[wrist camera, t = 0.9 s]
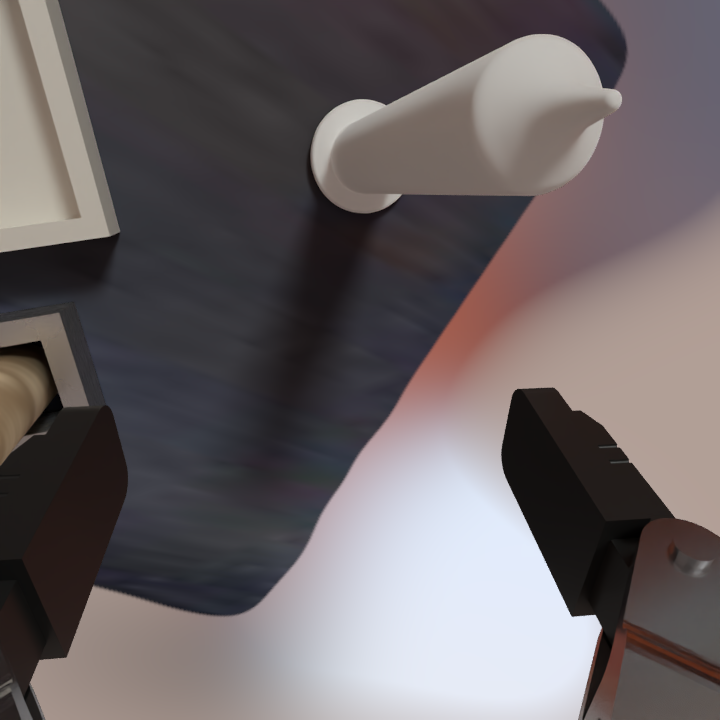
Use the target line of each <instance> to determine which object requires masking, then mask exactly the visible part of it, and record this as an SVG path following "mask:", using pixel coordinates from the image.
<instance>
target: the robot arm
mask: <svg viewBox="0 0 720 720" xmlns="http://www.w3.org/2000/svg"><path fill="white" fill-rule="evenodd" d="M501 453H502V454H501V456H502V466H503V470H504V474H505V477H506V479H507V481H508V483H509V486H510V488H511V490H512V492H513V494H514V496H515V498H516V500H517V502H518V504H519V506H520V509H521V511H522V512H523V515H524V517H525V519H526V521H527V523H528V525H529V528H530V530H531V531H532V534H533V536H534V538H535V540H536V542H537V544H538V547H539V549H540V551H541V553H542V555H543V557H544V559H545V561H546V563H547V566H548V568H549V570H550V572H551V574H552V576H553V578H554V580H555V582H556V585H557V587H558V589H559V591H560V593H561V595H562V597H563V599H564V601H565V603H566V605H567V608H568V610H569V612H570V614H571V616H572V617H574V616H585V615H596V616H597V618H598V620H599V622H600V624H601V626H602V629H601V632H600V634H599V637H598V640H597V645H596V648H595V653H594V657H593V661H592V665H591V669H590V673H589V678H588V681H587V685H586V690H585V694H584V698H583V702H582V706H581V710H580V715H579V719H578V720H720V537H719V536H717V535H716V534H714V533H713V532H711V531H709V530H708V529H706V528H704V527H702V526H699V525H697V524H694V523H692V522H688V521H686V520H681V519H676V518H675V517H674V516H673V515H672V513H671V512H670V511H669V509H668V508H667V507H666V506H665V504H664V503H663V502H662V501H661V499H660V498H659V497H658V496H657V494H656V493H655V492H654V491H653V489H652V488H651V487H650V485H649V484H648V483H647V482H646V480H645V479H644V478H643V476H642V475H641V474H640V473H639V471H638V470H637V469H636V468H635V466H634V465H633V464H632V463H629V459H628V458H627V456H626V455H625V454H624V452H623V451H622V450H621V449H620V448H617V444H616V442H615V441H614V440H613V438H612V437H611V436H610V435H609V433H608V432H607V431H606V429H605V428H604V427H603V426H602V425H601V424H599V423H598V422H596V421H595V420H594V419H592V418H591V417H589V416H588V415H586V414H585V413H583V412H582V411H572V410H571V408H570V407H569V406H568V404H567V403H566V402H565V400H564V399H563V398H562V396H561V395H560V394H559V392H558V391H557V390H556V389H555V388H534V389H517V390H515V392H514V393H513V395H512V400H511V404H510V409H509V414H508V419H507V424H506V429H505V434H504V440H503V444H502V452H501ZM127 486H128V471H127V465H126V461H125V457H124V454H123V450H122V446H121V442H120V439H119V435H118V431H117V427H116V424H115V420H114V416H113V413H112V411H111V409H110V408H109V407H108V406H106V405H103V406H79V407H65V408H63V409H62V410H61V411H60V412H59V414H58V415H57V417H56V419H55V420H54V422H53V423H52V425H51V427H50V428H49V430H48V431H47V433H46V434H44V435H33V436H32V437H31V438H29V439H28V440H27V441H26V442H24V443H23V444H22V445H20V446H19V447H18V448H17V449H15V450H14V451H13V452H12V453H10V454H9V456H8V457H7V458H6V460H5V461H4V463H3V464H2V466H1V467H0V720H45V718H44V715H43V712H42V710H41V707H40V705H39V702H38V700H37V697H36V695H35V692H34V690H33V688H32V686H31V684H30V681H31V679H32V676H33V673H34V671H35V669H36V666H37V663H38V662H39V660H43V659H54V658H66V657H67V654H68V652H69V649H70V647H71V644H72V641H73V638H74V636H75V633H76V630H77V627H78V625H79V621H80V619H81V617H82V614H83V611H84V609H85V606H86V603H87V600H88V598H89V595H90V592H91V590H92V587H93V584H94V582H95V579H96V576H97V573H98V571H99V568H100V565H101V563H102V560H103V557H104V554H105V552H106V549H107V546H108V544H109V541H110V538H111V535H112V533H113V530H114V527H115V525H116V522H117V519H118V516H119V514H120V511H121V508H122V506H123V503H124V500H125V497H126V493H127Z"/></svg>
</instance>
